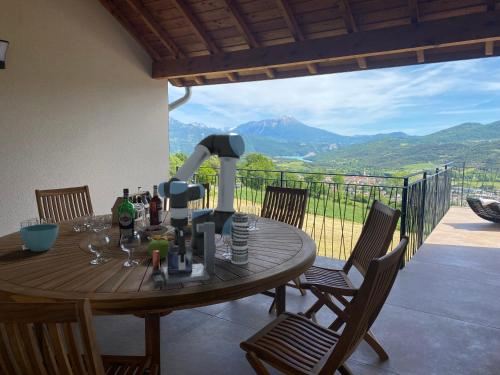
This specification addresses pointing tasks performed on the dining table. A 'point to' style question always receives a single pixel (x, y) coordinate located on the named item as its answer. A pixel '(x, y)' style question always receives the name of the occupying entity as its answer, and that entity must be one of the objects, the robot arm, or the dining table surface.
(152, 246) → the apple
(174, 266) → the small box
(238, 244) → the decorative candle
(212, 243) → the press
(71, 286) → the dining table surface
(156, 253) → the lever
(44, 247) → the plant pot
